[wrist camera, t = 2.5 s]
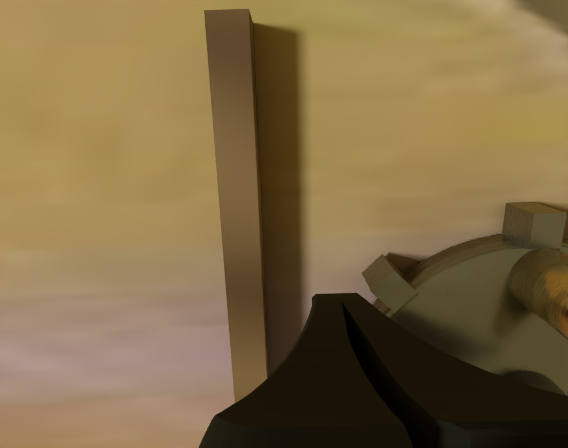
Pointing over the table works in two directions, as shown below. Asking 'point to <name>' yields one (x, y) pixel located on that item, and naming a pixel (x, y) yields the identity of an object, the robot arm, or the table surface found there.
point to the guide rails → (239, 191)
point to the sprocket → (491, 298)
